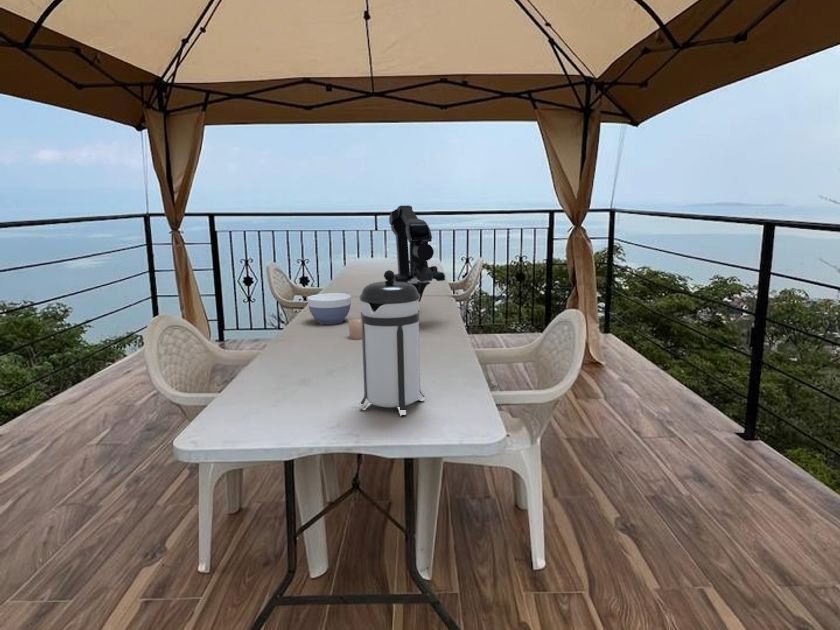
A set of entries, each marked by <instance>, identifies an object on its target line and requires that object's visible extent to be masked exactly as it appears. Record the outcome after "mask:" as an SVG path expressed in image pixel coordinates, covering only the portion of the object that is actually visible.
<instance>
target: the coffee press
mask: <svg viewBox="0 0 840 630" xmlns="http://www.w3.org/2000/svg"><path fill="white" fill-rule="evenodd" d="M394 274H395V273H394V271H393V270H390V269H388V270H386V271H385V272H384V274H383V277H384V279H385V280H384V281H377V282H371V283H369V284H367V285H366V286H364V287H363V289H362V291H361V294H360V295H359V300H360V302H361V312H360V318H361V322H362V339H361V340H362V341H361V342H362V365H363V366H362V367H363V371H362V372H363V398H362V400H361V401H360V403H361V404H363V405H364V404H365V402H366V400H367V402H368V403H369V402H370V403H372V405H374V406H377V407H382V408H396V407H400V410H407V408H406V407H407V406H409V405H410V404H413V403H415V402H416V401H418V400H419V397H420V395H421V397H422V396H423V397H425V395H424V393H422V392H421V379H420V377H421V376H420V375H421V374H420V373H421V372H420V371H421V370H420V323H419V321H420V318H421V316H420V310H419V302H418V301H419V299H420V294H419V293H418V291H417V289H416V287H415V286H414V285H412V284H410V283H407V282H401V281H392V280H393V279H394V276H395V275H394ZM417 399H418V400H417Z"/></svg>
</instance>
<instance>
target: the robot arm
mask: <svg viewBox="0 0 840 630" xmlns="http://www.w3.org/2000/svg"><path fill="white" fill-rule="evenodd" d="M388 222H389V225H390V229H391V231H392V233H393V235H395V241H396V243H395V244H396V255H397V256H396V257H397V274H396V273H394V275H395V276H394V279H393V280H392V281H401V282H407V283H410V284H412V285H414V286H415V287H416V289H417V291H418V293H419V294H420V299H419V301H418V303H419V302H421V300H422V297H423V293H424V291H425V289H426V287H427V286H428V285H430V284H431V282H432V281H433V280H435V281H437V282H441V281H443V282H444V281H446V275H445V273H444V272H442V271H439V270H438V267H437V266H436V265H434V266H429V263H428V261H429V260H431V259H433V256H434V253H435V252H434V247H432V246H431V245H430V244H429V243H430V242H431V243H432V241H433V240H432V239H433V235H432V232H431V229H430V226H429V224H428V223H427V222H426V221H425V220H424V219H419V218H418V216H417V215H416V213H415V212H414V210H413V206H412V205H400V206H398V207H397V208H396V209H395V210H392V211H391V213H390V214H389V219H388Z"/></svg>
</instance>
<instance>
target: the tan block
mask: <svg viewBox="0 0 840 630" xmlns="http://www.w3.org/2000/svg"><path fill="white" fill-rule="evenodd" d="M348 329H349V330H348V331H349V339H350V338H351V340H362V322H361V317H352V318H349V319H348Z"/></svg>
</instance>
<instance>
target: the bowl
mask: <svg viewBox="0 0 840 630" xmlns="http://www.w3.org/2000/svg"><path fill="white" fill-rule="evenodd" d="M351 304H352V296H351V294H347V293H341V292H340V293H337V292H336V293H335V292H332V293H331V292H329V293H319V294H313V295H309V296H307V305H308V308H309V313H310V314H311V316H312V317H313V319H315V320H316V322H318V324H319V323H320V325H324V324H332V325H339V324H342V323H343V322H344V320H345V319H346V318H347V316H348V314H349V313H350V310H351ZM341 322H342V323H341ZM338 323H339V324H338Z"/></svg>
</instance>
